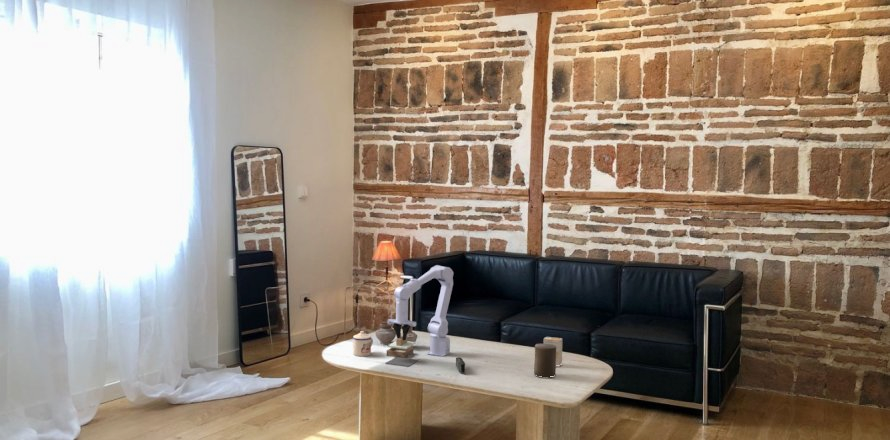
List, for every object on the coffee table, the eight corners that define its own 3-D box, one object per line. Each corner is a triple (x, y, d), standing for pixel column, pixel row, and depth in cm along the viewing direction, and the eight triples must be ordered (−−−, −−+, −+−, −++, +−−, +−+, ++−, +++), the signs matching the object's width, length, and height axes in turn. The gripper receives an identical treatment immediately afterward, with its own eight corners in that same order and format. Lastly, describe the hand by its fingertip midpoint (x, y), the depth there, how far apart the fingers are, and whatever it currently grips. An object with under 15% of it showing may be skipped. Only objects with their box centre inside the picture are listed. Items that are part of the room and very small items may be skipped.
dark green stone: (454, 356, 351) (460, 364, 336) (461, 356, 352) (467, 364, 337) (454, 366, 351) (460, 375, 337) (461, 366, 352) (467, 375, 337)
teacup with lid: (362, 357, 364) (362, 334, 363) (349, 354, 370) (349, 331, 369) (378, 352, 374) (379, 329, 373) (365, 349, 379) (365, 327, 378)
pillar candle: (550, 379, 332) (551, 346, 331) (530, 375, 337) (531, 343, 336) (558, 374, 340) (560, 342, 339) (539, 371, 345) (540, 339, 344)
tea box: (413, 354, 373) (413, 348, 373) (404, 359, 364) (404, 352, 364) (395, 352, 377) (395, 345, 377) (386, 356, 368) (386, 350, 368)
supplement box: (562, 365, 356) (563, 338, 355) (559, 367, 352) (560, 340, 351) (545, 362, 359) (546, 336, 358) (542, 365, 355) (543, 338, 354)
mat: (418, 360, 360) (418, 359, 360) (408, 366, 349) (408, 365, 349) (396, 357, 365) (396, 356, 365) (385, 363, 354) (385, 362, 354)
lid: (415, 344, 363) (415, 336, 363) (406, 350, 354) (406, 341, 354) (397, 342, 367) (397, 334, 367) (387, 347, 358) (387, 339, 357)
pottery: (409, 351, 378) (409, 328, 377) (370, 344, 391) (370, 321, 390) (422, 346, 387) (422, 324, 386) (384, 339, 401) (384, 318, 400)
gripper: (384, 311, 358) (384, 339, 359) (411, 314, 352) (411, 342, 353) (391, 309, 365) (391, 336, 366) (418, 312, 359) (417, 339, 360)
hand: (401, 339), depth 360 cm, fingers closed on lid, 2 cm apart
